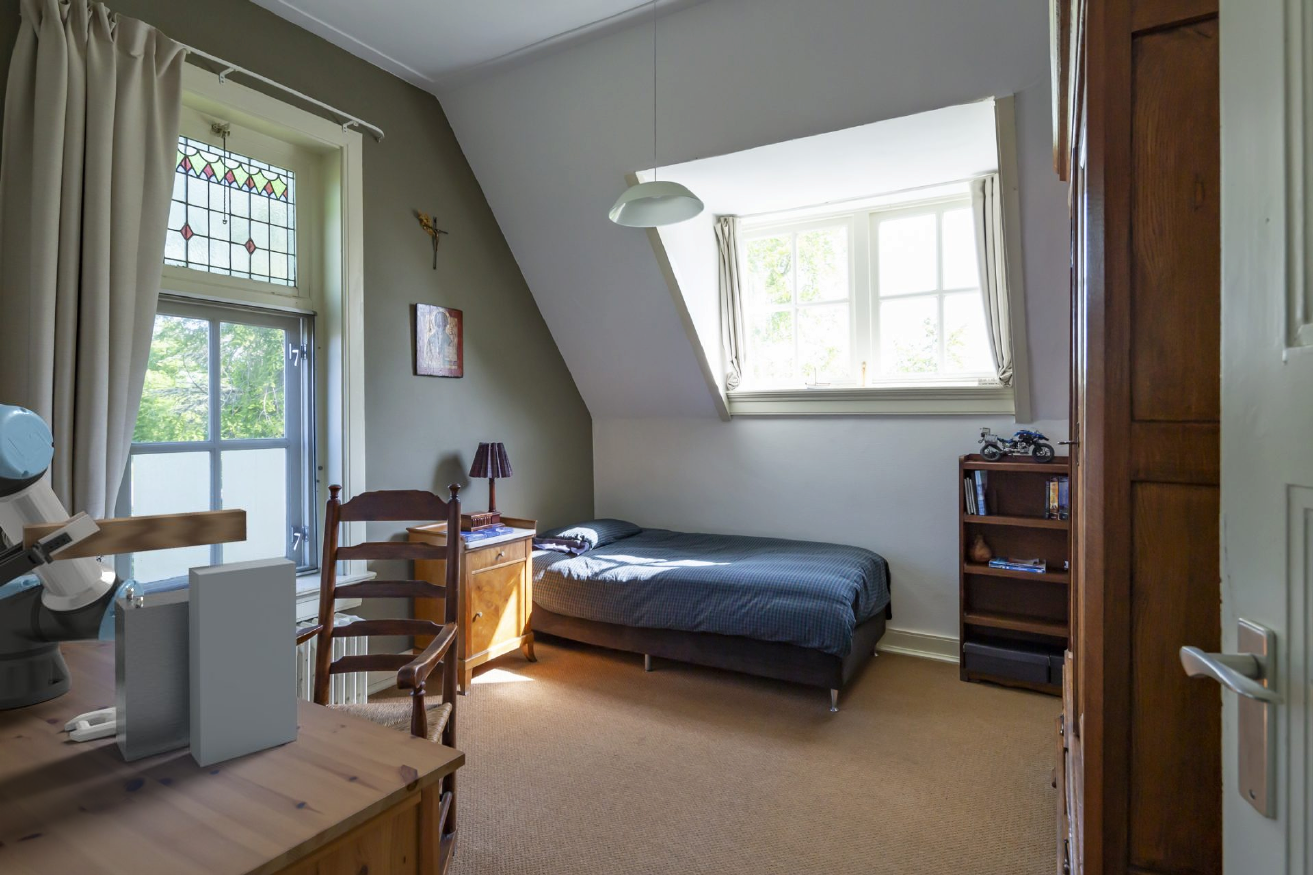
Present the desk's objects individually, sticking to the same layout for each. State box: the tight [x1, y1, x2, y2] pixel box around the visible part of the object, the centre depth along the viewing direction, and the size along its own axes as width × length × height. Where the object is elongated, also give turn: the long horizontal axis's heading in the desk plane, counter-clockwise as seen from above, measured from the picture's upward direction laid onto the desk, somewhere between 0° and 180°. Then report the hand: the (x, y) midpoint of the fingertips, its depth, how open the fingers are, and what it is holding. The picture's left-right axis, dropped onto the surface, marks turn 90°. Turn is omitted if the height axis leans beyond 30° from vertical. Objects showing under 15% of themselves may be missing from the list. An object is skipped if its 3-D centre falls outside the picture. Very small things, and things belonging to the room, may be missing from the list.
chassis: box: [114, 588, 190, 763], centre depth 122 cm, size 10×16×26 cm, turn 134°
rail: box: [23, 508, 248, 561], centre depth 112 cm, size 28×4×5 cm, turn 135°
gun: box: [64, 706, 116, 743], centre depth 127 cm, size 18×4×10 cm
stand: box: [188, 556, 298, 768], centre depth 118 cm, size 7×14×30 cm, turn 134°
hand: (91, 520), depth 108 cm, fingers closed on rail, 4 cm apart
